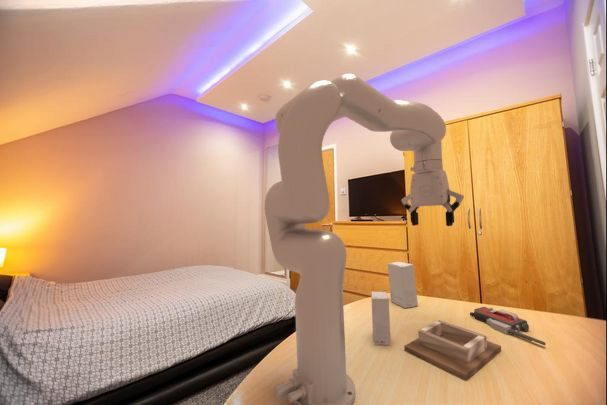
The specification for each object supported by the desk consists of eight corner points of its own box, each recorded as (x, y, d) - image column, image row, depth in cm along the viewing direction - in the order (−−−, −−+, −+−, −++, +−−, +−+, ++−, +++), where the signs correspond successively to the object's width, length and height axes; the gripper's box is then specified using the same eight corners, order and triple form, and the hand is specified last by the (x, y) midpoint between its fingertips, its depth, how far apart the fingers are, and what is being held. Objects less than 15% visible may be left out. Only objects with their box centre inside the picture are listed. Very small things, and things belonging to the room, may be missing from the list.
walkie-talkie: (464, 319, 80) (542, 351, 61) (463, 305, 80) (541, 332, 61) (484, 314, 83) (564, 343, 64) (483, 300, 83) (562, 325, 64)
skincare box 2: (418, 306, 90) (415, 264, 91) (404, 309, 89) (401, 266, 89) (402, 299, 98) (400, 260, 99) (389, 301, 97) (387, 262, 97)
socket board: (466, 380, 51) (464, 359, 51) (404, 350, 63) (403, 333, 63) (501, 350, 61) (500, 333, 61) (442, 329, 73) (441, 314, 73)
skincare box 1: (391, 346, 65) (389, 298, 65) (374, 345, 66) (372, 298, 66) (388, 334, 71) (386, 291, 71) (372, 333, 72) (370, 291, 72)
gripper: (395, 171, 80) (397, 225, 79) (456, 162, 67) (460, 226, 66) (406, 173, 85) (408, 224, 84) (465, 164, 72) (469, 225, 71)
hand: (431, 225), depth 75 cm, fingers open, 9 cm apart
